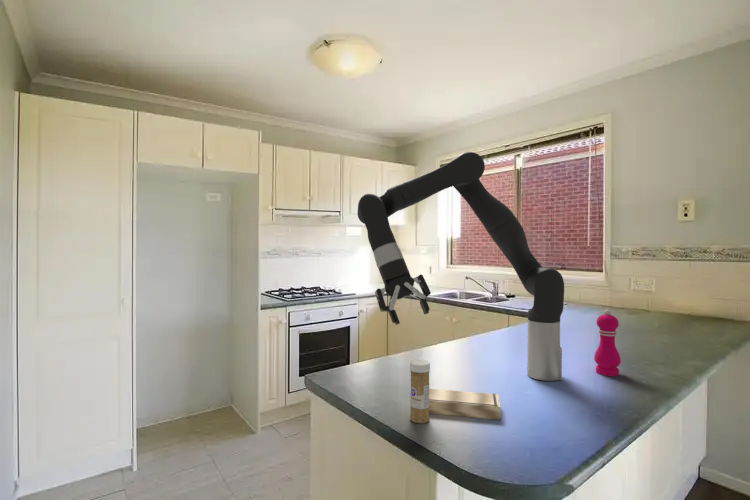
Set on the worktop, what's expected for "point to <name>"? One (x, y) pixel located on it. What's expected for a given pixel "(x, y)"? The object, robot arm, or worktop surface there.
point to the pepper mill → (607, 346)
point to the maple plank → (464, 404)
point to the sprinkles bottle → (419, 391)
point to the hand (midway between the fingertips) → (412, 318)
